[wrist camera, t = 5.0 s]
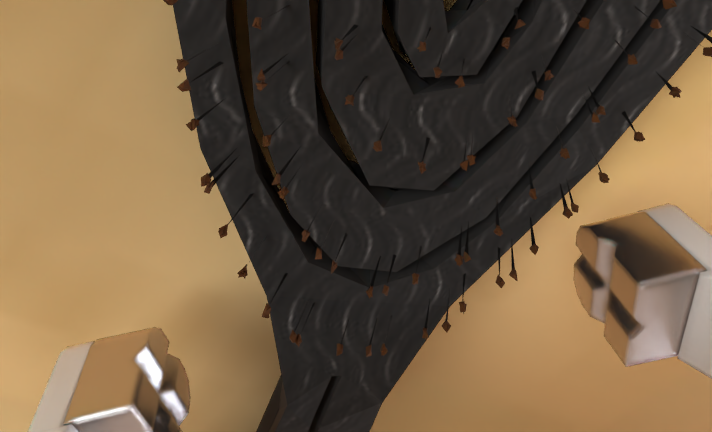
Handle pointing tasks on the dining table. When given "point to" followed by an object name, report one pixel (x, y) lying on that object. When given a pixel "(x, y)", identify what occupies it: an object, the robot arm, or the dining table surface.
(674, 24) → the hairbrush
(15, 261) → the dining table surface
